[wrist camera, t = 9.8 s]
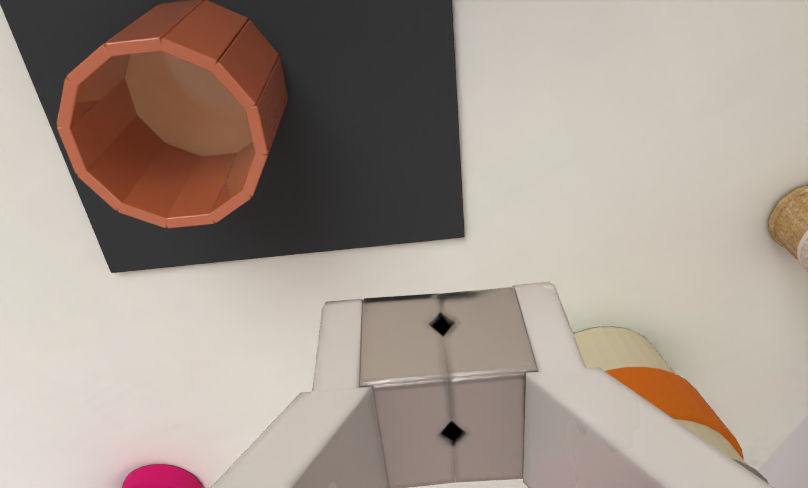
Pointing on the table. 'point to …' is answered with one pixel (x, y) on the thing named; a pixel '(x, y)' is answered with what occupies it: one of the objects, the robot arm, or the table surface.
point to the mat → (295, 128)
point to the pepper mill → (161, 478)
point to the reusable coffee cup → (656, 384)
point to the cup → (175, 114)
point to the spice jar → (792, 224)
